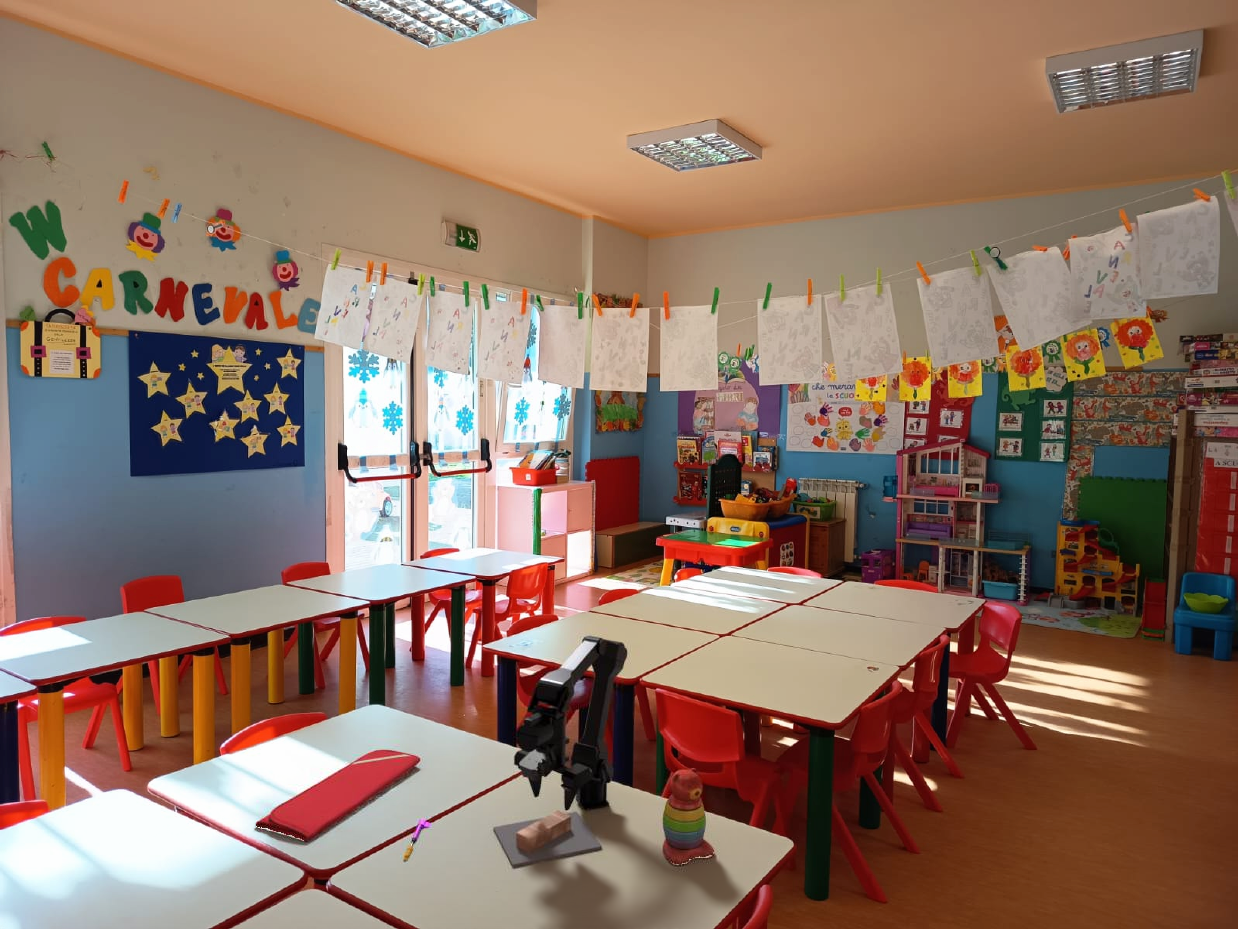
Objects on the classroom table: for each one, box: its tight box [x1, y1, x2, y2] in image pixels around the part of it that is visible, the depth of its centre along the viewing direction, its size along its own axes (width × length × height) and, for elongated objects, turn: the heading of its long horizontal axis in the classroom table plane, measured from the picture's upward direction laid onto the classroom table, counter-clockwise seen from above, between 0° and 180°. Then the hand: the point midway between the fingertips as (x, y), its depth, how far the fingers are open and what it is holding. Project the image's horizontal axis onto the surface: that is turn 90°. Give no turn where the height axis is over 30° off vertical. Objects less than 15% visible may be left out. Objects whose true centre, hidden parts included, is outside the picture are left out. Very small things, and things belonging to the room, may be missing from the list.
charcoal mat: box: [493, 811, 603, 868], centre depth 183 cm, size 20×16×1 cm
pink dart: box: [403, 818, 432, 861], centre depth 181 cm, size 3×1×16 cm
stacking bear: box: [662, 767, 715, 865], centre depth 179 cm, size 11×10×18 cm
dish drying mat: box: [255, 749, 421, 843], centre depth 201 cm, size 16×41×4 cm, turn 157°
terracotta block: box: [516, 810, 571, 852], centre depth 183 cm, size 3×4×13 cm
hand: (551, 803), depth 184 cm, fingers open, 9 cm apart
